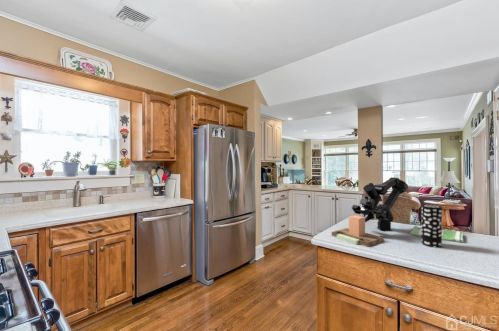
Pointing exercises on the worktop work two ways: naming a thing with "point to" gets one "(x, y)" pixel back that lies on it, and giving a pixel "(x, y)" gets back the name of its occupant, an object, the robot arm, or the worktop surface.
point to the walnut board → (363, 240)
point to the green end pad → (347, 239)
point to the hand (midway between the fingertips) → (362, 223)
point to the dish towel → (446, 234)
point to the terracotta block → (357, 225)
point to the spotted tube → (431, 226)
